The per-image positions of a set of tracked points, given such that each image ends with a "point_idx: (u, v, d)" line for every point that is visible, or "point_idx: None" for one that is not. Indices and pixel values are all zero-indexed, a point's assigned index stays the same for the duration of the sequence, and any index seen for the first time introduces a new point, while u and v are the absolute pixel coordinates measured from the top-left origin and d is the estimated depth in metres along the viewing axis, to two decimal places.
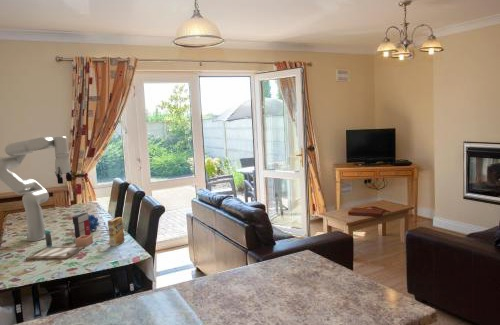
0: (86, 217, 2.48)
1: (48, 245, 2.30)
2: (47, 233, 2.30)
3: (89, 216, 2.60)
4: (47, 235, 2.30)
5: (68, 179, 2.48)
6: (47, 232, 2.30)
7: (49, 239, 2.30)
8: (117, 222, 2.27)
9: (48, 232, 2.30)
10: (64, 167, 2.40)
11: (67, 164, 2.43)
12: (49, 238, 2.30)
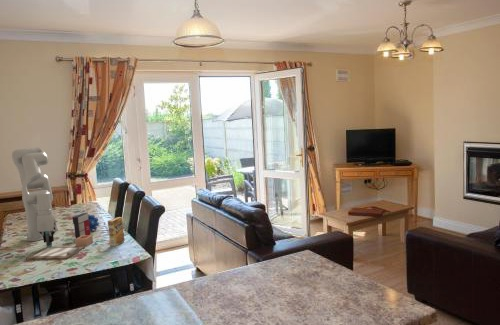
0: (86, 217, 2.48)
1: (48, 245, 2.30)
2: (47, 233, 2.30)
3: (89, 216, 2.60)
4: (47, 235, 2.30)
5: None
6: (47, 232, 2.30)
7: None
8: (117, 222, 2.27)
9: (48, 232, 2.30)
10: None
11: None
12: None
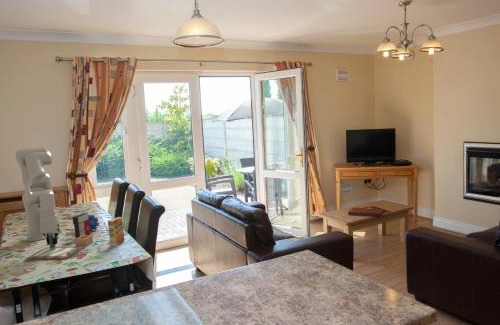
0: (86, 217, 2.48)
1: (51, 247, 2.20)
2: (50, 235, 2.20)
3: (89, 216, 2.60)
4: (50, 237, 2.20)
5: None
6: (50, 234, 2.19)
7: (52, 241, 2.20)
8: (117, 222, 2.27)
9: (51, 234, 2.20)
10: None
11: None
12: None
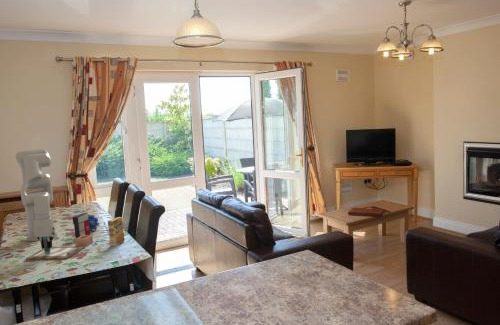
0: (86, 217, 2.48)
1: (46, 251, 2.14)
2: (45, 238, 2.13)
3: (89, 216, 2.60)
4: (45, 241, 2.13)
5: None
6: (45, 237, 2.13)
7: None
8: (117, 222, 2.27)
9: (46, 237, 2.14)
10: None
11: None
12: None
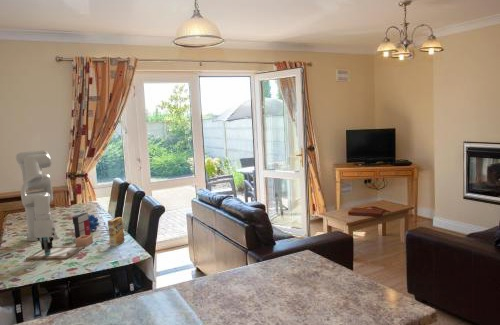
0: (86, 217, 2.48)
1: (46, 252, 2.12)
2: (45, 239, 2.11)
3: (89, 216, 2.60)
4: (45, 242, 2.11)
5: None
6: (45, 238, 2.11)
7: (47, 246, 2.12)
8: (117, 222, 2.27)
9: (46, 238, 2.12)
10: None
11: None
12: None
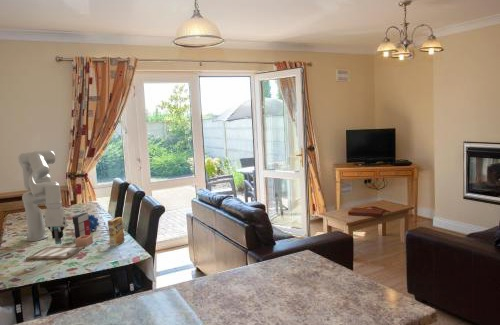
0: (86, 217, 2.48)
1: (57, 241, 2.11)
2: (56, 228, 2.10)
3: (89, 216, 2.60)
4: (56, 231, 2.10)
5: None
6: (56, 227, 2.10)
7: None
8: (117, 222, 2.27)
9: (57, 227, 2.10)
10: None
11: None
12: None
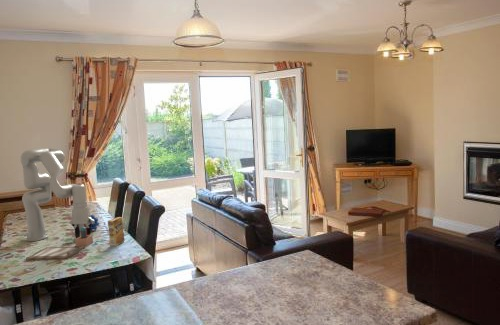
0: None
1: None
2: (83, 230, 2.30)
3: None
4: (82, 232, 2.30)
5: (78, 232, 2.32)
6: (83, 229, 2.30)
7: (84, 236, 2.31)
8: (117, 222, 2.27)
9: (84, 229, 2.30)
10: None
11: None
12: (84, 235, 2.31)
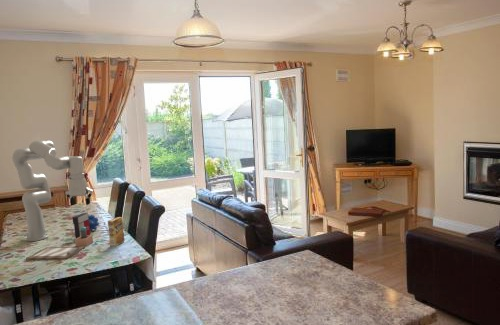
0: (86, 217, 2.48)
1: None
2: (83, 230, 2.30)
3: (89, 216, 2.60)
4: (83, 232, 2.30)
5: (73, 203, 2.32)
6: (83, 229, 2.30)
7: (85, 236, 2.31)
8: (117, 222, 2.27)
9: (84, 229, 2.30)
10: None
11: None
12: (85, 235, 2.31)
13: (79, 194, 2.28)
